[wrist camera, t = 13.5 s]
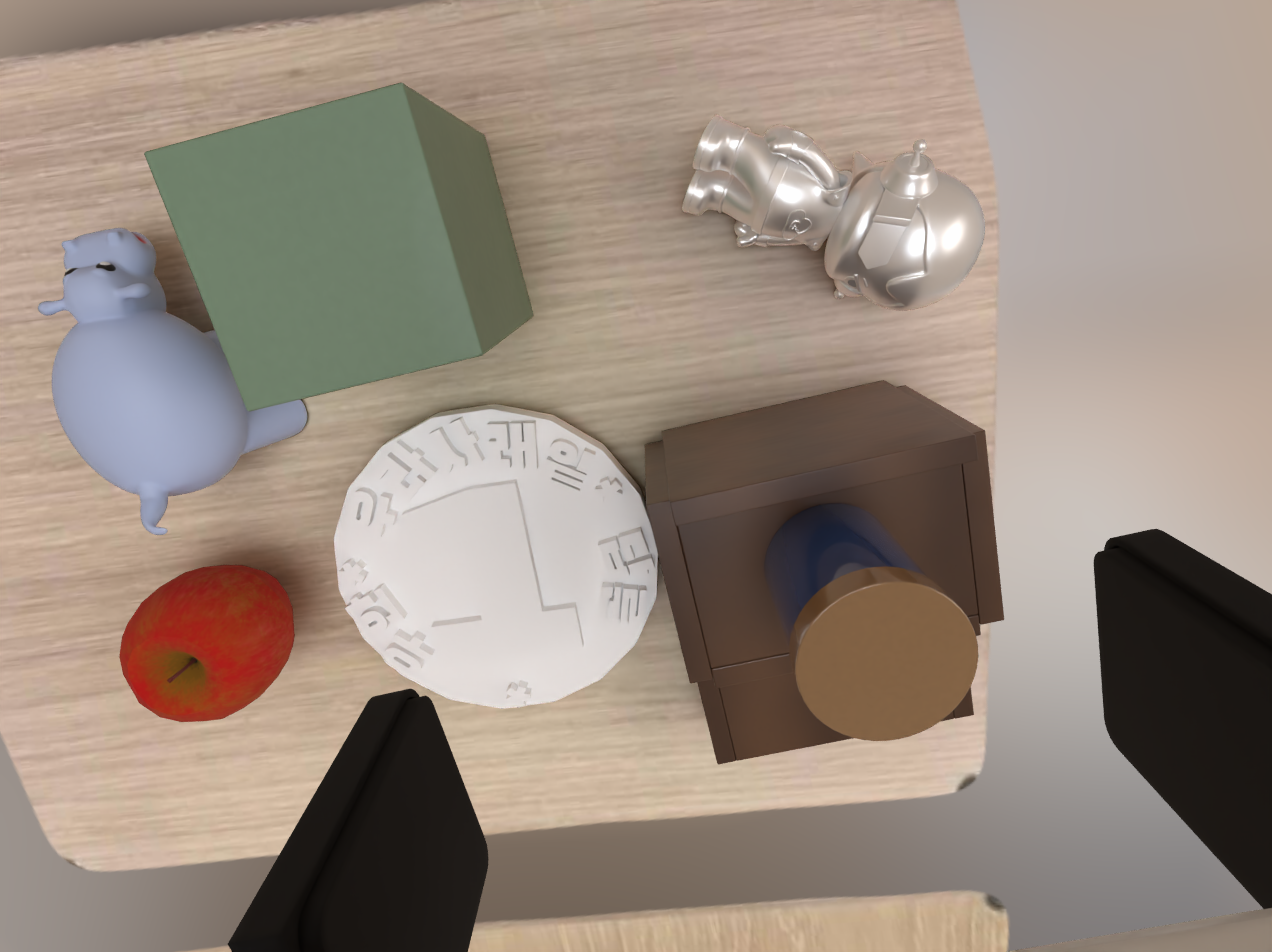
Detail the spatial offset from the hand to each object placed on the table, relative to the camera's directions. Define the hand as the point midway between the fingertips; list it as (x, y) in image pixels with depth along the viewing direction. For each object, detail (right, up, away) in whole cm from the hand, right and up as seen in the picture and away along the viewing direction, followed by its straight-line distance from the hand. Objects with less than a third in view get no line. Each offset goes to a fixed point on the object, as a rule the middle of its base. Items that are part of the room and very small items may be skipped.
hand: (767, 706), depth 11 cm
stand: (-14, +16, +33) cm, 39 cm away
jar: (+8, -1, +26) cm, 28 cm away
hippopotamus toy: (-28, +10, +35) cm, 46 cm away
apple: (-26, -4, +39) cm, 47 cm away
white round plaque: (-10, -2, +38) cm, 40 cm away
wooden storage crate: (+9, -2, +38) cm, 39 cm away
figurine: (+8, +18, +32) cm, 38 cm away
